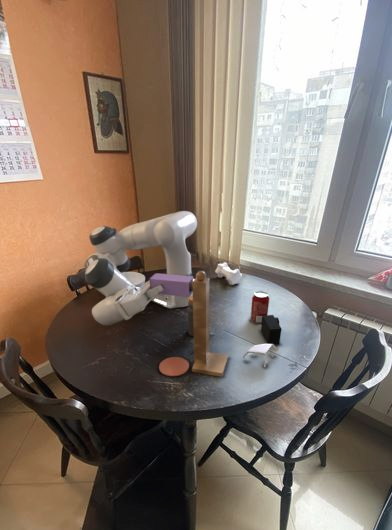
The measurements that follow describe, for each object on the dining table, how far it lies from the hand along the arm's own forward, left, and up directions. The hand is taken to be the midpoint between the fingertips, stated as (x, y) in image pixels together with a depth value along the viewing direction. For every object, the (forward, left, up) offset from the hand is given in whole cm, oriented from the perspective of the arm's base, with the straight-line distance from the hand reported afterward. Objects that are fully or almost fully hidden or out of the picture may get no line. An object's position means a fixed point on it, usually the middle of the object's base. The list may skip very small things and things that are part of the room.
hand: (166, 283), depth 89 cm
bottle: (-2, +19, -28) cm, 34 cm away
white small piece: (+27, +15, -28) cm, 42 cm away
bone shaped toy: (-14, +73, -28) cm, 79 cm away
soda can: (+16, +40, -28) cm, 51 cm away
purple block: (+2, 0, -3) cm, 3 cm away
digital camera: (+25, +30, -28) cm, 48 cm away
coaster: (+3, -3, -28) cm, 28 cm away
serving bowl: (-53, +35, -28) cm, 69 cm away
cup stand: (+9, +2, -28) cm, 30 cm away
